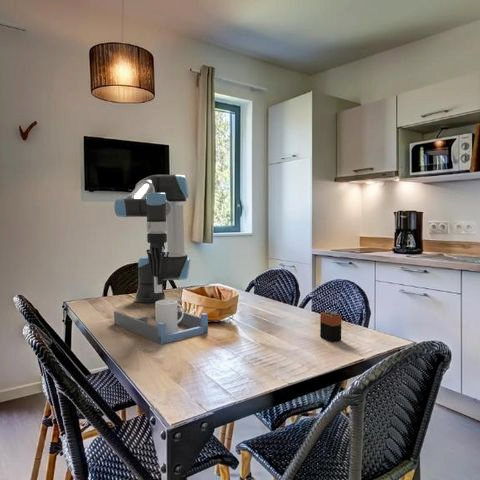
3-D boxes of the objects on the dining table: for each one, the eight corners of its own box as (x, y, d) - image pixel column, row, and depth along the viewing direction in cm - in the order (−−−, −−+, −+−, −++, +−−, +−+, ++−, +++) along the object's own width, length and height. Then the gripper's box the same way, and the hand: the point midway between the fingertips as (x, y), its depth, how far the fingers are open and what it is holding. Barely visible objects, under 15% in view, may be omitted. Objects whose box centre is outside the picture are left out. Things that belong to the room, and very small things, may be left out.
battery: (332, 342, 136) (332, 314, 135) (319, 337, 142) (319, 309, 141) (341, 340, 138) (342, 312, 137) (329, 335, 144) (329, 308, 143)
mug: (179, 327, 155) (179, 297, 154) (190, 332, 148) (189, 301, 147) (151, 332, 148) (150, 301, 147) (161, 338, 141) (160, 305, 140)
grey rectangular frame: (157, 314, 175) (157, 303, 174) (205, 331, 150) (204, 318, 149) (114, 323, 161) (114, 311, 160) (158, 343, 136) (158, 328, 136)
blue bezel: (205, 331, 150) (204, 312, 149) (207, 332, 148) (207, 313, 148) (158, 343, 136) (157, 323, 135) (161, 344, 135) (160, 324, 134)
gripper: (139, 232, 155) (141, 291, 157) (157, 233, 145) (158, 296, 147) (156, 231, 160) (157, 288, 162) (174, 232, 150) (175, 293, 152)
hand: (158, 292), depth 154 cm, fingers closed
